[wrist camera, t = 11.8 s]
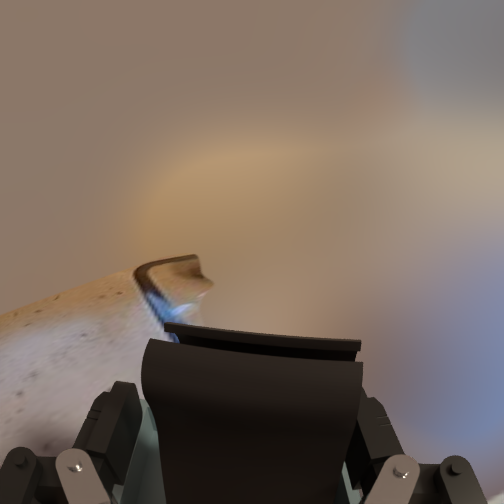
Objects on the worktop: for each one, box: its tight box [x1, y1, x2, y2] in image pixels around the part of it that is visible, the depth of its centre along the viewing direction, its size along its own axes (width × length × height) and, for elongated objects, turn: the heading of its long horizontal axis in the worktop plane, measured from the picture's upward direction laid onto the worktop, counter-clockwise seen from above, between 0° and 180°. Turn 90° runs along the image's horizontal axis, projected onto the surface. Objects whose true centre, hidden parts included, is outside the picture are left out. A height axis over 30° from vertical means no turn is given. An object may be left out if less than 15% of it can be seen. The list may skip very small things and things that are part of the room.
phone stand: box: [141, 322, 363, 504], centre depth 10 cm, size 9×6×12 cm, turn 166°
